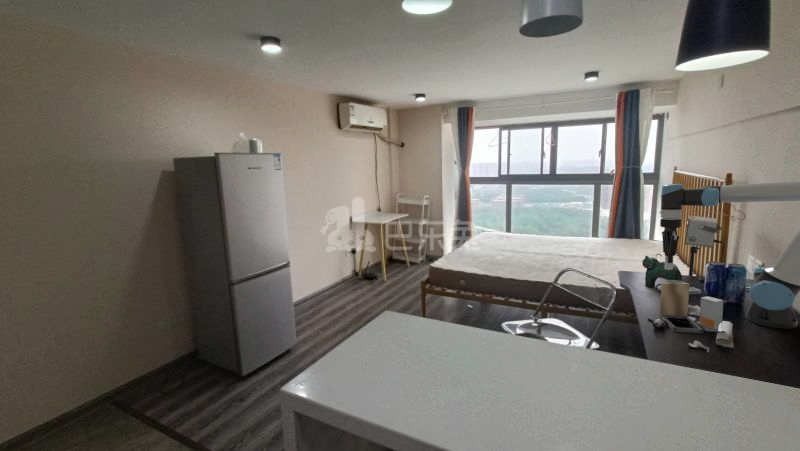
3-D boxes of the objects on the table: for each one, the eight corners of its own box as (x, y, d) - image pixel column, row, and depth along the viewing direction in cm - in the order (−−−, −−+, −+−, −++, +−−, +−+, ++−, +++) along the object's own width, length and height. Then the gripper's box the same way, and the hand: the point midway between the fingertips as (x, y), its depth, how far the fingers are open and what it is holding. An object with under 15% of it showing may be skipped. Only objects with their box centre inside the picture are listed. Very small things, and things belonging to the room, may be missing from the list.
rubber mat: (713, 323, 151) (713, 322, 151) (724, 332, 142) (724, 331, 142) (696, 322, 153) (696, 321, 153) (706, 331, 144) (706, 330, 144)
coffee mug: (688, 301, 175) (689, 282, 174) (682, 306, 171) (683, 286, 169) (661, 296, 185) (662, 278, 184) (654, 300, 180) (655, 281, 179)
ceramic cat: (640, 285, 203) (641, 252, 201) (649, 284, 205) (650, 250, 203) (676, 295, 185) (678, 258, 182) (685, 293, 186) (686, 257, 184)
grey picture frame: (687, 319, 157) (687, 315, 156) (703, 333, 143) (703, 329, 142) (660, 317, 160) (660, 314, 160) (673, 331, 146) (673, 328, 146)
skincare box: (698, 324, 150) (700, 297, 148) (705, 322, 151) (707, 295, 149) (715, 329, 144) (716, 301, 142) (722, 328, 145) (723, 300, 143)
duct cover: (687, 315, 156) (686, 314, 157) (689, 284, 153) (688, 283, 154) (660, 314, 160) (659, 313, 160) (662, 283, 157) (661, 282, 157)
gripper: (655, 216, 166) (654, 265, 169) (666, 220, 154) (664, 272, 157) (674, 216, 164) (672, 265, 167) (687, 220, 151) (684, 273, 154)
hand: (668, 269), depth 162 cm, fingers closed
